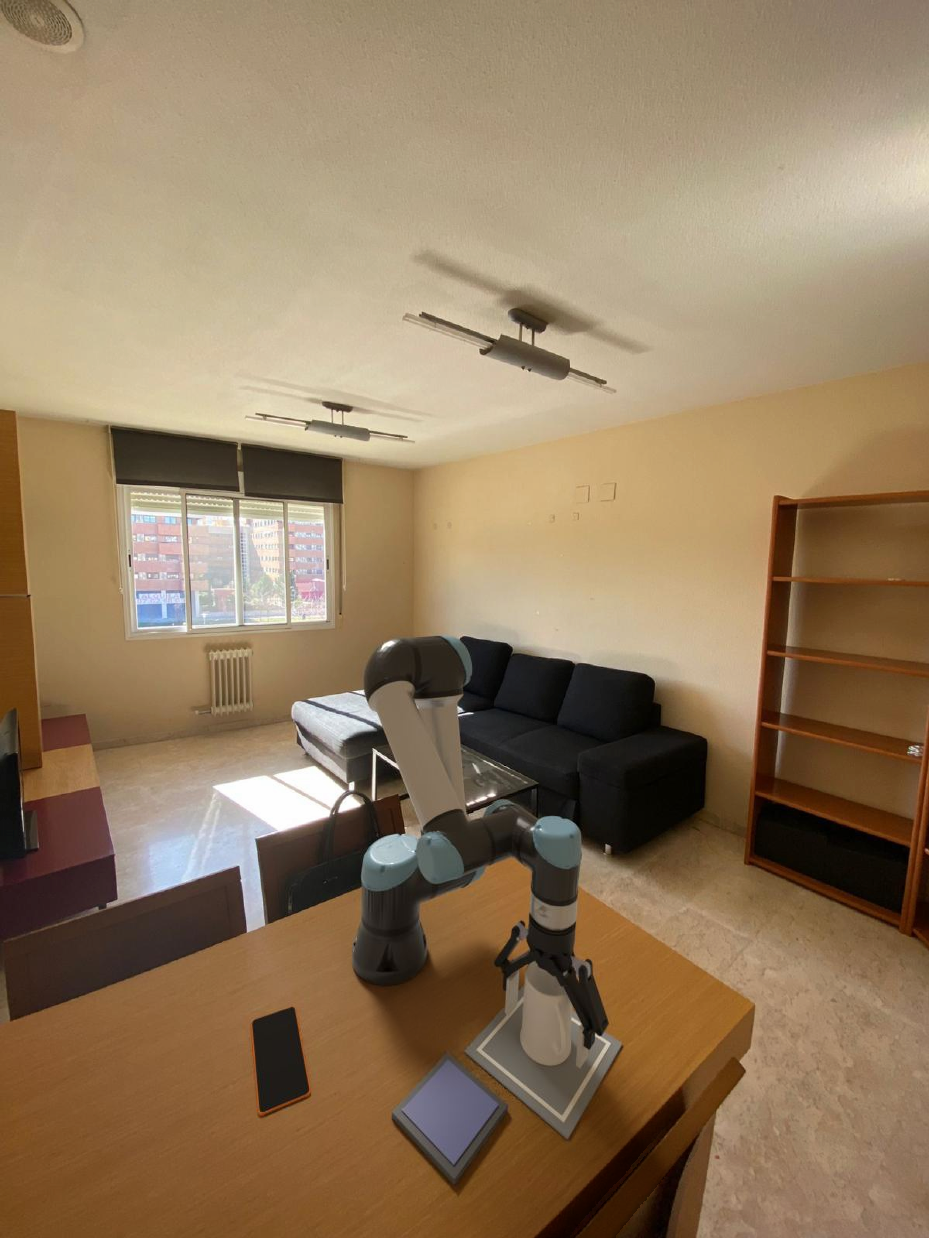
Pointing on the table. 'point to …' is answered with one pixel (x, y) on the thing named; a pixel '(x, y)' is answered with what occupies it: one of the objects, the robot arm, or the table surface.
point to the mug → (545, 1018)
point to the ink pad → (450, 1116)
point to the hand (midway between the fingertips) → (544, 1033)
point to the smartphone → (279, 1061)
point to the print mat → (543, 1069)
